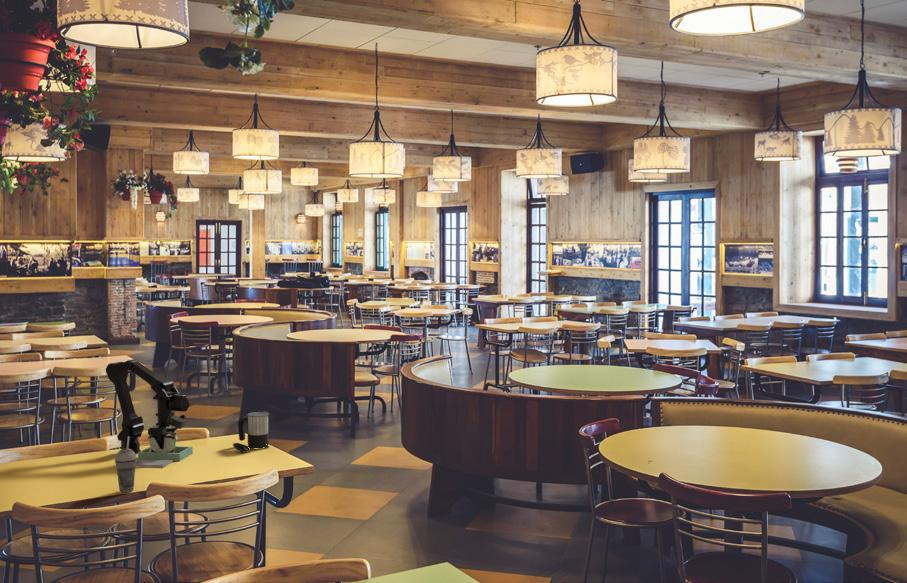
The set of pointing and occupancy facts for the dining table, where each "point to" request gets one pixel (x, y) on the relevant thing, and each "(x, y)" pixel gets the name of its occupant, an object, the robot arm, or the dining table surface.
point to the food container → (168, 443)
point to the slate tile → (152, 463)
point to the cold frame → (166, 454)
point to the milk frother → (253, 431)
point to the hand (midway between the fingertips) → (165, 447)
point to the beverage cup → (126, 469)
